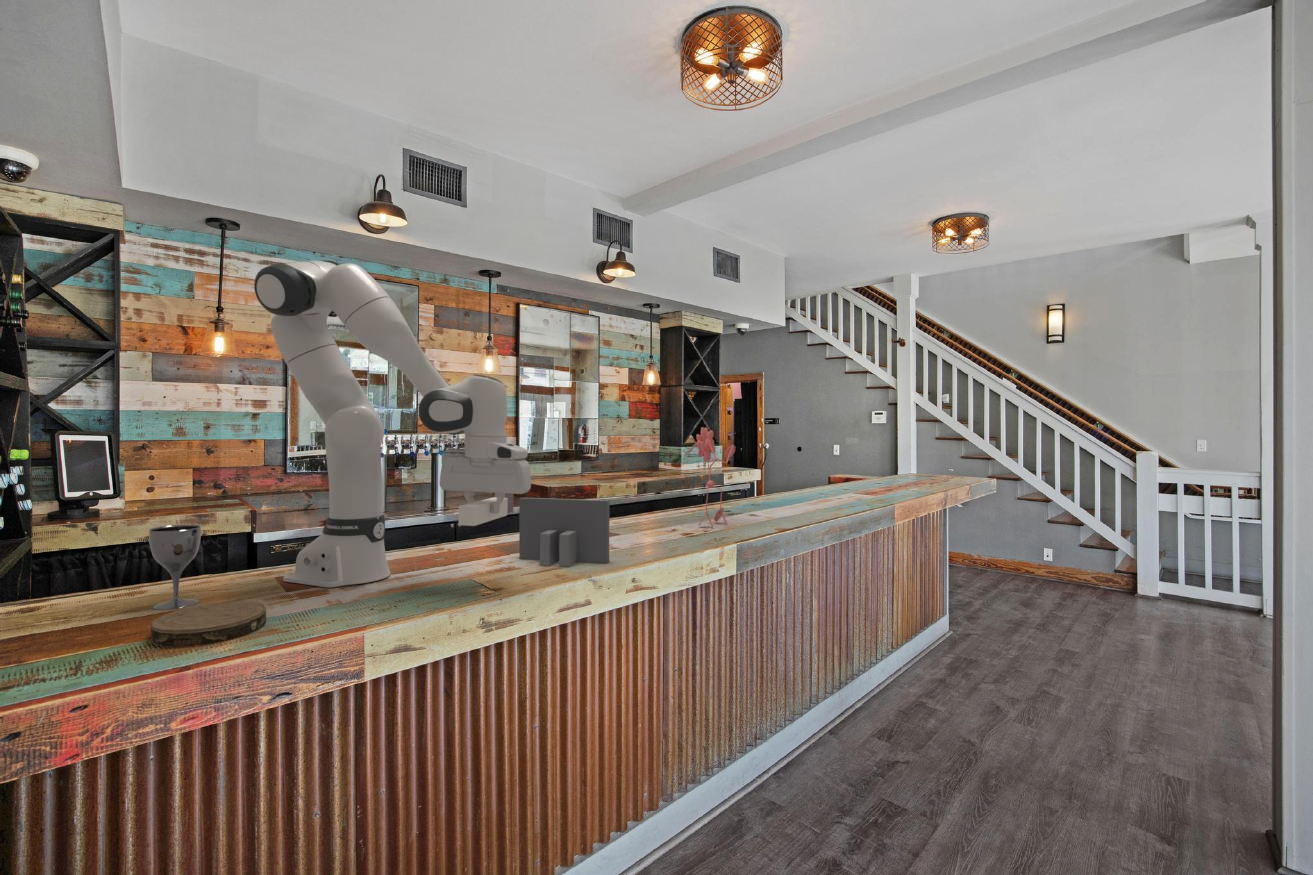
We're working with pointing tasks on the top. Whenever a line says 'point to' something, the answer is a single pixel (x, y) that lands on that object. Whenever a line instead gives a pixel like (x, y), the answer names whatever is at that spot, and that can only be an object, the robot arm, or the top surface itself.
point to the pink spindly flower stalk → (705, 450)
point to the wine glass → (175, 556)
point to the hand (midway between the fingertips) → (484, 512)
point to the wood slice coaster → (208, 624)
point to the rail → (484, 510)
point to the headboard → (564, 530)
